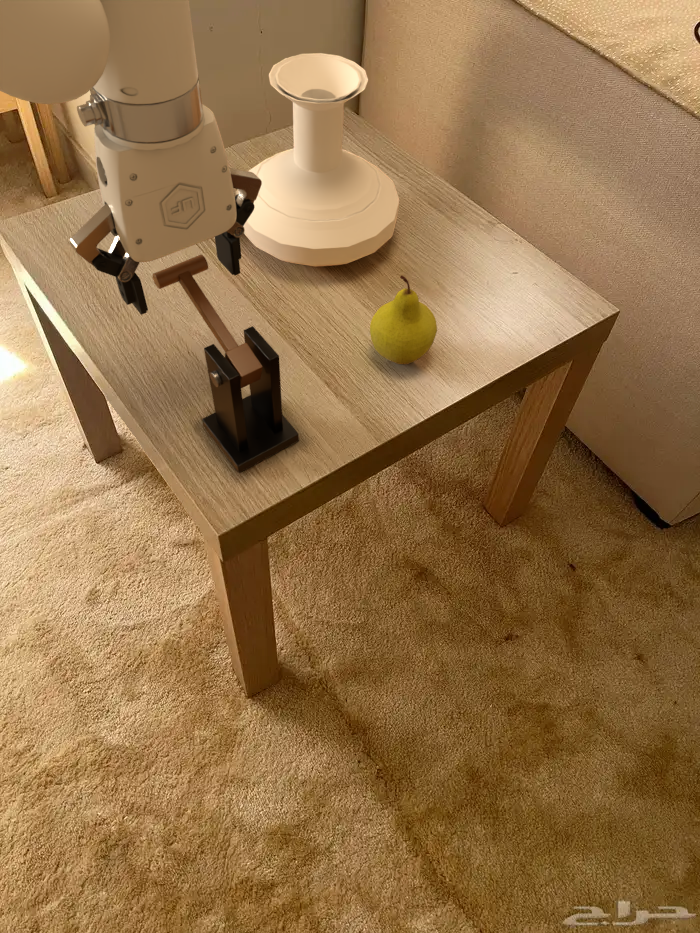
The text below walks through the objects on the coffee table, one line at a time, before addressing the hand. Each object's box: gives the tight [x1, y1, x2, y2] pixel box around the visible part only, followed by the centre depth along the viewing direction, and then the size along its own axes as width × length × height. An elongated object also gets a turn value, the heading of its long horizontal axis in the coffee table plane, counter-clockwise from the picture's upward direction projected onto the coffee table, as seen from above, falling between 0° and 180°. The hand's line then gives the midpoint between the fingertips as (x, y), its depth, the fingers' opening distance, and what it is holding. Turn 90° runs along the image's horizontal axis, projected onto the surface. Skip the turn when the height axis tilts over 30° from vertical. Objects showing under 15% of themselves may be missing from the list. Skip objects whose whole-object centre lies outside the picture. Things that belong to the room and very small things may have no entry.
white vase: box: [235, 52, 400, 268], centre depth 81 cm, size 20×20×19 cm
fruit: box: [369, 275, 438, 365], centre depth 73 cm, size 7×7×12 cm
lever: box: [151, 254, 263, 389], centre depth 63 cm, size 13×5×2 cm, turn 36°
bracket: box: [201, 325, 300, 474], centre depth 66 cm, size 7×7×12 cm
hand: (184, 285), depth 65 cm, fingers open, 9 cm apart
